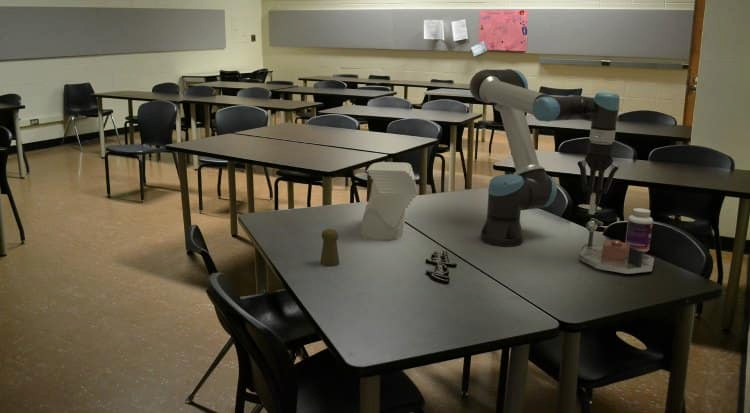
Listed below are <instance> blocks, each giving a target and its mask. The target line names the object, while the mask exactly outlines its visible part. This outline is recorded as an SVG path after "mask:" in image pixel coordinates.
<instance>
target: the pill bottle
mask: <svg viewBox="0 0 750 413" xmlns="http://www.w3.org/2000/svg"><path fill="white" fill-rule="evenodd" d="M653 225H654V219H653V217H651V210H650V209H647V208H642V207H640V208H639V207H635V208H633V209H632V214H631V215H629V216H628V218H627V226H626V235H625V240H624V241H625V242H624V243H630V247H634V248H636V249H638V250H640V251H643V253H646V252H647V253H648V251H649V250H650V247H651V242H652V241H651V239H652V232H653ZM630 247H629V249H630Z"/></svg>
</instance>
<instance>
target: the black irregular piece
mask: <svg viewBox="0 0 750 413" xmlns="http://www.w3.org/2000/svg"><path fill="white" fill-rule="evenodd" d="M424 263H425V264H427V265H430V266H434V270H430V269H427V270H426V271H425V275H426V276H428V277H429V278H430V279H431V280H432V281H434V282H437V283H439V284H441V285H450V281H451V280H450V279H451V278H450V276H449V275H450V272H449V270H448V268H450V269H451V268H452V269H456V268H457V265H458V264H457V263H453V262H450V259H449V255H448V252H447V251H446V250H443V251H442V254H441V253H439V252H438V251H436V250H435V251H434V252H433V253H431V258H430V259H428V258H426V259H425V262H424Z"/></svg>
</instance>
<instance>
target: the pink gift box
mask: <svg viewBox="0 0 750 413" xmlns="http://www.w3.org/2000/svg"><path fill="white" fill-rule="evenodd" d="M602 245H603V248H602V256H601V257H606V258H611V259H616V260H622V261H624V260H625V259H626V258H627V256H628V254H629V247H630V243H625V242H623V241H622V240H619V239H612V240H611V239H606V241H605V242H604V243H603V244H602Z"/></svg>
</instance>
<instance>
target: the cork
mask: <svg viewBox="0 0 750 413" xmlns="http://www.w3.org/2000/svg"><path fill="white" fill-rule="evenodd" d="M321 238H322V240H323V241H322V248H321V255H320V261H319V262H320V263H319V264H320V265H321V266H322V267H331V268H332V267H337V266H339V265H340V259H339V251H338V243H337V242H338V239H339V232H338V231H337V230H336V229H332V228H327V229H324V230H322V232H321Z"/></svg>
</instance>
